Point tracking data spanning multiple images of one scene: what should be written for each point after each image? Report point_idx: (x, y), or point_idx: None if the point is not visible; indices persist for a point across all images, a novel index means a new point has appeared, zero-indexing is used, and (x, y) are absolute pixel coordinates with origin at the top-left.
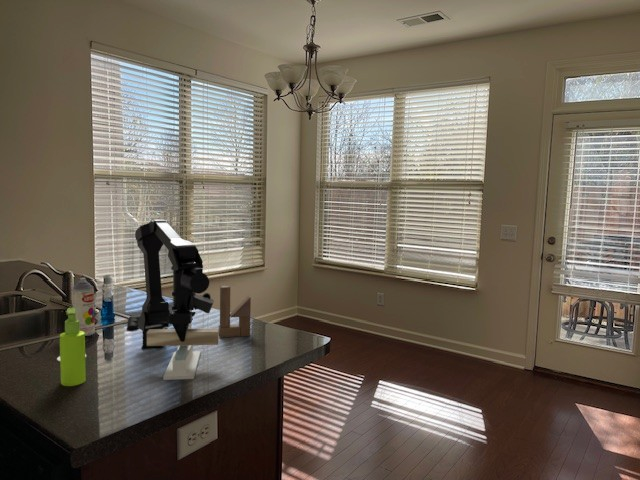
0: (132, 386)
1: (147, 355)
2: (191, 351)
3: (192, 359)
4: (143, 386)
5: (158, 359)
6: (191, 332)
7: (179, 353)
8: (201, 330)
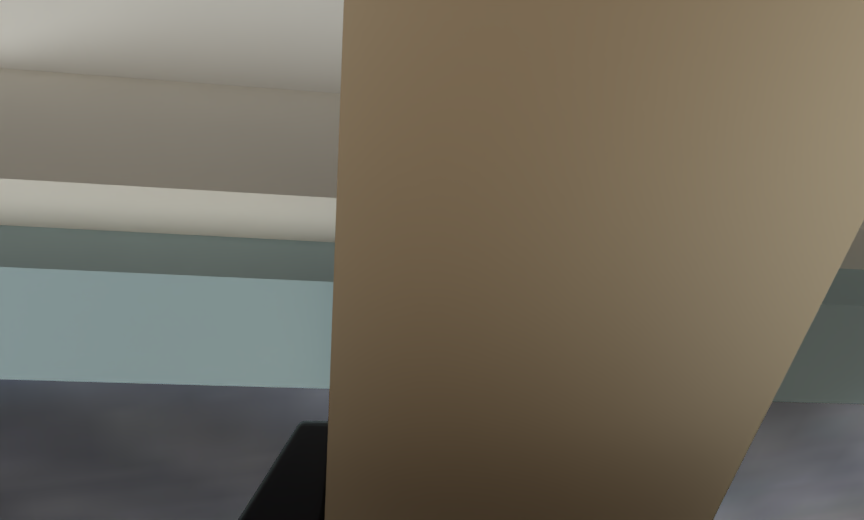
0: (813, 500)
1: (43, 511)
2: (147, 117)
3: (298, 61)
4: (856, 440)
5: (164, 419)
6: (711, 488)
7: (829, 369)
8: (668, 185)
